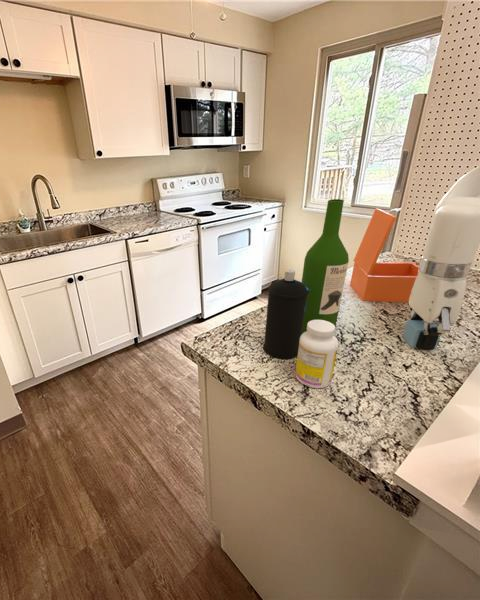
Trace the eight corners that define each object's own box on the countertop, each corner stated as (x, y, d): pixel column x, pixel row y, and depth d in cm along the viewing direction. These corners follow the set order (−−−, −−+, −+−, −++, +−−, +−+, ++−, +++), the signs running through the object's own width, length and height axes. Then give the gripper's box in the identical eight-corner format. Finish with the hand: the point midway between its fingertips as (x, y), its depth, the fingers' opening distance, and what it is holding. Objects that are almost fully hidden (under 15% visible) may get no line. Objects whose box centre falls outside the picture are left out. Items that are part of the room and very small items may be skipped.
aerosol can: (281, 363, 69) (291, 281, 61) (255, 346, 76) (260, 269, 68) (308, 352, 72) (321, 272, 63) (280, 336, 79) (289, 262, 70)
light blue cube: (425, 337, 73) (431, 320, 71) (435, 348, 69) (442, 331, 67) (402, 336, 74) (407, 319, 72) (411, 347, 70) (416, 329, 68)
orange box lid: (378, 208, 91) (375, 208, 91) (396, 217, 80) (393, 216, 80) (356, 261, 99) (353, 260, 99) (370, 275, 88) (367, 274, 88)
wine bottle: (314, 343, 75) (337, 205, 61) (287, 326, 83) (303, 201, 69) (343, 334, 77) (371, 199, 63) (314, 318, 85) (334, 195, 71)
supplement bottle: (316, 366, 67) (325, 314, 62) (338, 386, 61) (351, 330, 56) (288, 372, 67) (294, 320, 61) (307, 392, 61) (317, 337, 55)
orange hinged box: (406, 285, 98) (413, 262, 94) (426, 303, 87) (435, 277, 84) (349, 284, 102) (354, 262, 99) (362, 301, 91) (368, 276, 88)
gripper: (495, 283, 55) (461, 365, 63) (443, 254, 70) (420, 324, 78) (444, 282, 57) (416, 362, 65) (403, 254, 72) (384, 322, 80)
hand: (418, 341), depth 71 cm, fingers closed on light blue cube, 4 cm apart
